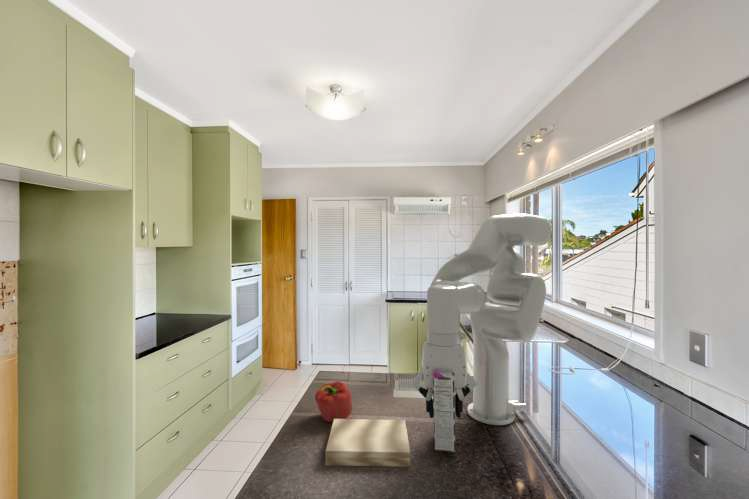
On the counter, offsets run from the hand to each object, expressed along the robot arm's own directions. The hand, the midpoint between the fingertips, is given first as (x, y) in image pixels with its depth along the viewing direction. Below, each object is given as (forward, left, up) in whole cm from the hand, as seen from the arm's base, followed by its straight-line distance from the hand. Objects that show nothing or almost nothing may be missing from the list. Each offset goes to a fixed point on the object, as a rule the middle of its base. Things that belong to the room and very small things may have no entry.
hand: (444, 414), depth 79 cm
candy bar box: (0, 0, -6) cm, 6 cm away
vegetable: (+28, -12, -8) cm, 31 cm away
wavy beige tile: (+18, +1, -8) cm, 19 cm away
